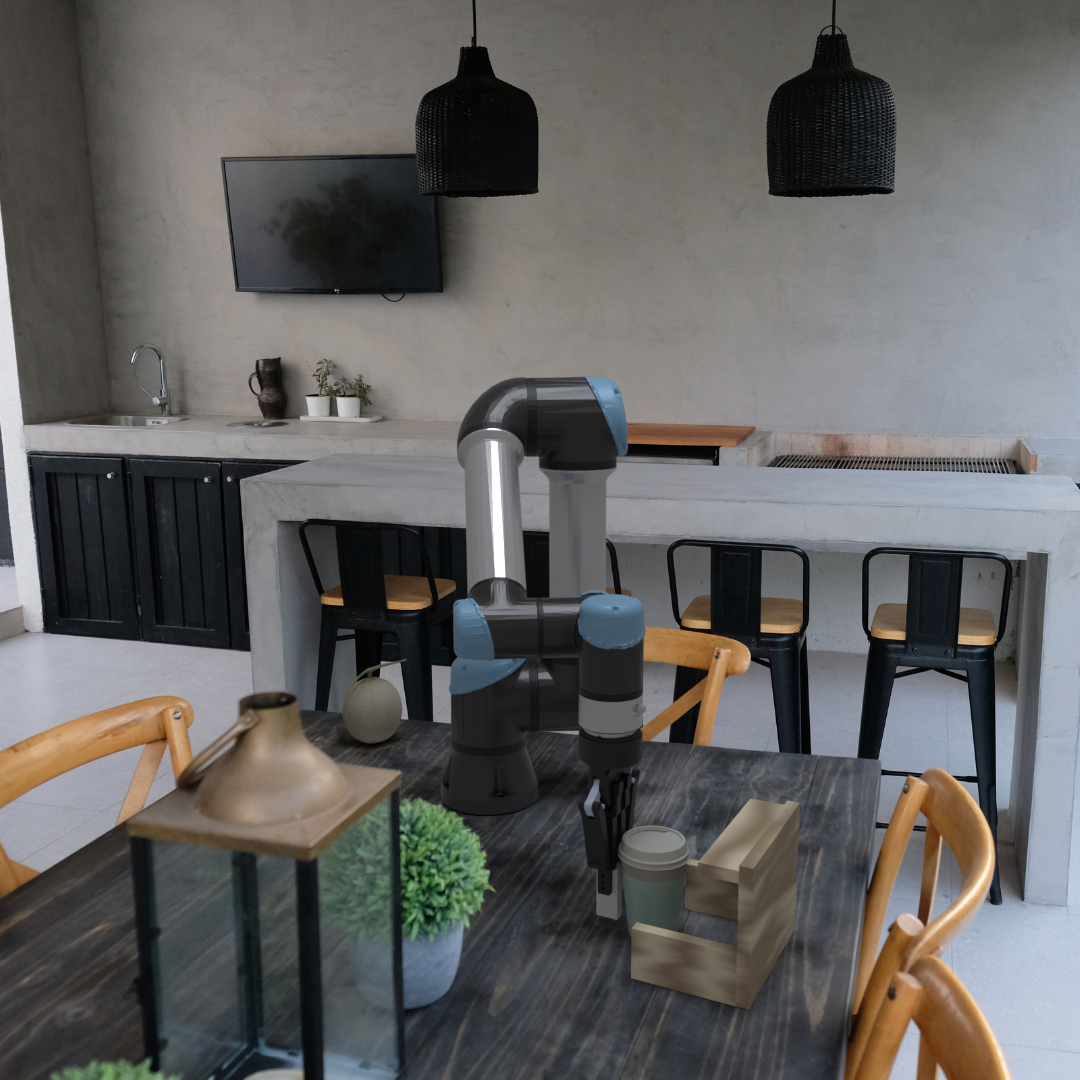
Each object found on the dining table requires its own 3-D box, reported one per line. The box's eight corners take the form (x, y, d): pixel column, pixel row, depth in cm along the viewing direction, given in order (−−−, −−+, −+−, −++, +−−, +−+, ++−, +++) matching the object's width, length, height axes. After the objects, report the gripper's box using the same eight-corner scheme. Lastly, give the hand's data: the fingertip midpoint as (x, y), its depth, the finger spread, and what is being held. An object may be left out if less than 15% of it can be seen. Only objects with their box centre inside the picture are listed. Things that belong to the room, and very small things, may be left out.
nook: (630, 978, 125) (632, 843, 123) (689, 903, 142) (691, 783, 139) (749, 1010, 119) (753, 868, 116) (795, 928, 136) (800, 802, 133)
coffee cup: (694, 920, 138) (696, 828, 136) (681, 956, 130) (682, 859, 128) (626, 910, 140) (627, 819, 138) (609, 944, 132) (609, 848, 130)
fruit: (327, 743, 199) (324, 662, 197) (376, 727, 208) (373, 648, 206) (366, 757, 193) (363, 673, 190) (415, 739, 201) (413, 658, 199)
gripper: (617, 750, 125) (615, 947, 129) (661, 716, 136) (658, 898, 140) (557, 739, 128) (557, 931, 132) (604, 707, 140) (603, 885, 144)
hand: (609, 914), depth 136 cm, fingers closed
